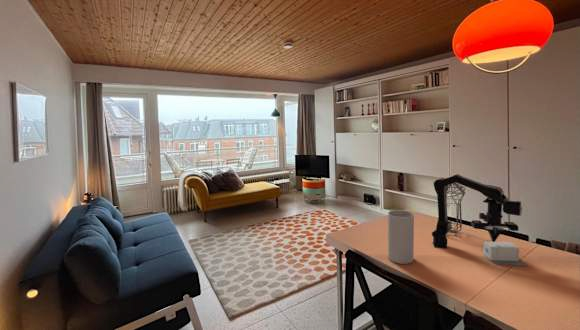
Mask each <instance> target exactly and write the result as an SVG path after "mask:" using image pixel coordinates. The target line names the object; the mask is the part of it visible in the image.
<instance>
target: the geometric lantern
mask: <svg viewBox="0 0 580 330" xmlns="http://www.w3.org/2000/svg"><path fill="white" fill-rule="evenodd" d="M456 189H457V190H456ZM465 190H466V186H464V185H461V184H458V183H452V184H449V185H448V190H447V193H446V200H451V199H452V200H453V201H454V202H453V203H452V202H447V205H448V204H449V205H451V204H452V205H454V204H455V205H456V223H454V222H452V224H451V225H455V226H454V227H452V229H451V231H450V232H448V233H447V234H446V236H449V233H450V234H451V236H452V237H453V236H455V237H456V236H458V233H459V232H461V231H462V226H463V225H462V223H463V222H462V220H463V219H462V200H463V198H464V196H465V195H466V192H465ZM457 192H459V193H457ZM448 194H450V195H449V196H448ZM453 194H454V195H453ZM459 195H461V197H459ZM454 197H457V198H454ZM456 200H457V201H458V203H457V201H456ZM438 219H439V217H437V220H438ZM458 229H459V230H458Z"/></svg>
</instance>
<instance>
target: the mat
mask: <svg viewBox="0 0 580 330" xmlns="http://www.w3.org/2000/svg"><path fill="white" fill-rule="evenodd" d="M491 262H493V263H494V264H495V265H501V266H502V265H503V266H512V267H525V268H526V267H528V266H527V264H526V263H525V262H523V260H522V259H520V258H519V260H518V261H495V260H491Z"/></svg>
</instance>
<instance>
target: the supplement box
mask: <svg viewBox="0 0 580 330" xmlns="http://www.w3.org/2000/svg"><path fill="white" fill-rule="evenodd" d="M483 255H484V256H485V257H486V258H488V260H489V261H492V260H495V261H518V260H519V259H520V258H519V257H520V256H519V255H520V248H519V247H518V246H517V245H515V244H514V243H512V242H510V241H495V242H492V241H483Z"/></svg>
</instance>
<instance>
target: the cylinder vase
mask: <svg viewBox="0 0 580 330" xmlns="http://www.w3.org/2000/svg"><path fill="white" fill-rule="evenodd" d="M414 220H415V214H414V212H411V211H408V210H401V209H397V210H396V209H395V210H389V211H388V212H387V245H388V246H387V253H388V255H387V257H388V259H389V260H390V261H391V262H393V263H395V264H399V265H408V263H409V264H412V263H413V262H414V251H415V250H414V244H415V242H414V237H415V236H414V235H415V233H414V232H415V231H414V229H415V225H414V224H415V221H414Z"/></svg>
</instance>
